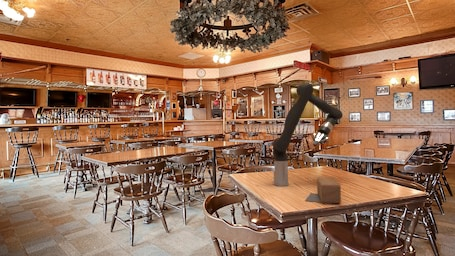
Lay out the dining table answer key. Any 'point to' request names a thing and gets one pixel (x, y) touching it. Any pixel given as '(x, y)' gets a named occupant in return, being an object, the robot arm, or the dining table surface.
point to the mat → (314, 198)
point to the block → (328, 190)
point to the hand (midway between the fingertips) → (314, 145)
